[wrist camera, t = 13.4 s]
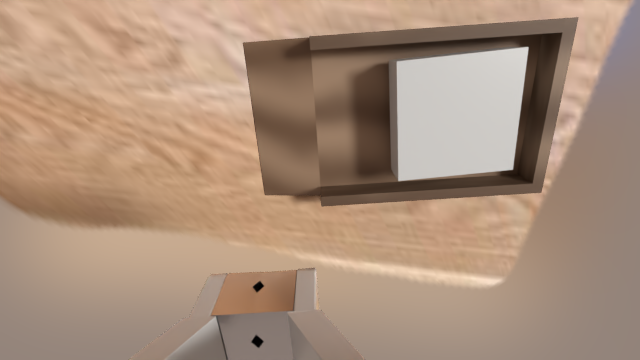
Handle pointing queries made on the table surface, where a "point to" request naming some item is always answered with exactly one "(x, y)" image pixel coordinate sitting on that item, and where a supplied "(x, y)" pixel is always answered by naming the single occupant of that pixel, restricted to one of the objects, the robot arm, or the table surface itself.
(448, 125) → the grey square tile
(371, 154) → the dock
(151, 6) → the table surface
